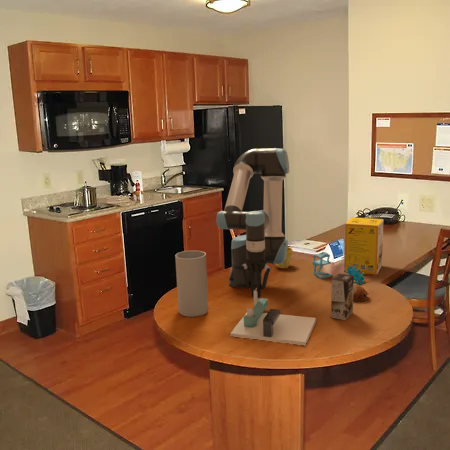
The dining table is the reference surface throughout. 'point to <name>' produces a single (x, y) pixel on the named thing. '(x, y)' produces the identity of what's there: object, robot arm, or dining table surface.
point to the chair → (321, 264)
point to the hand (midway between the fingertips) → (256, 304)
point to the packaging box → (363, 244)
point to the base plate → (279, 329)
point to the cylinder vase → (192, 283)
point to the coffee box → (342, 296)
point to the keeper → (270, 322)
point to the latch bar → (255, 313)
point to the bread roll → (359, 293)
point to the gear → (356, 274)
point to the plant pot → (286, 259)
